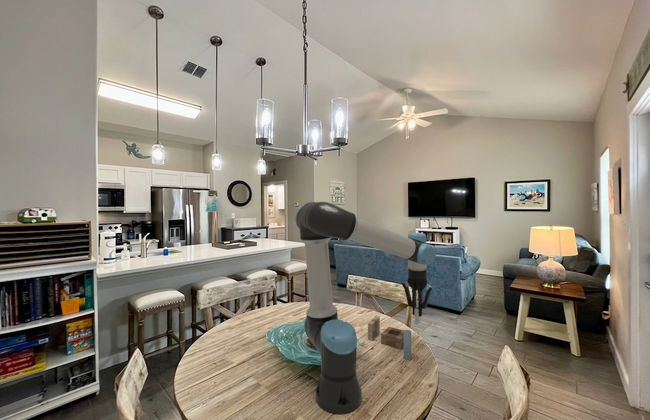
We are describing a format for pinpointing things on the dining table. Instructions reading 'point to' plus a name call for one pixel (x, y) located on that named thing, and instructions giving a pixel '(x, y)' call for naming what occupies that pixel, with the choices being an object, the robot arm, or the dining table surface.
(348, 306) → the dining table surface
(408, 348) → the dowel
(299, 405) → the dining table surface
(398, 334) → the block
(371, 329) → the jig
